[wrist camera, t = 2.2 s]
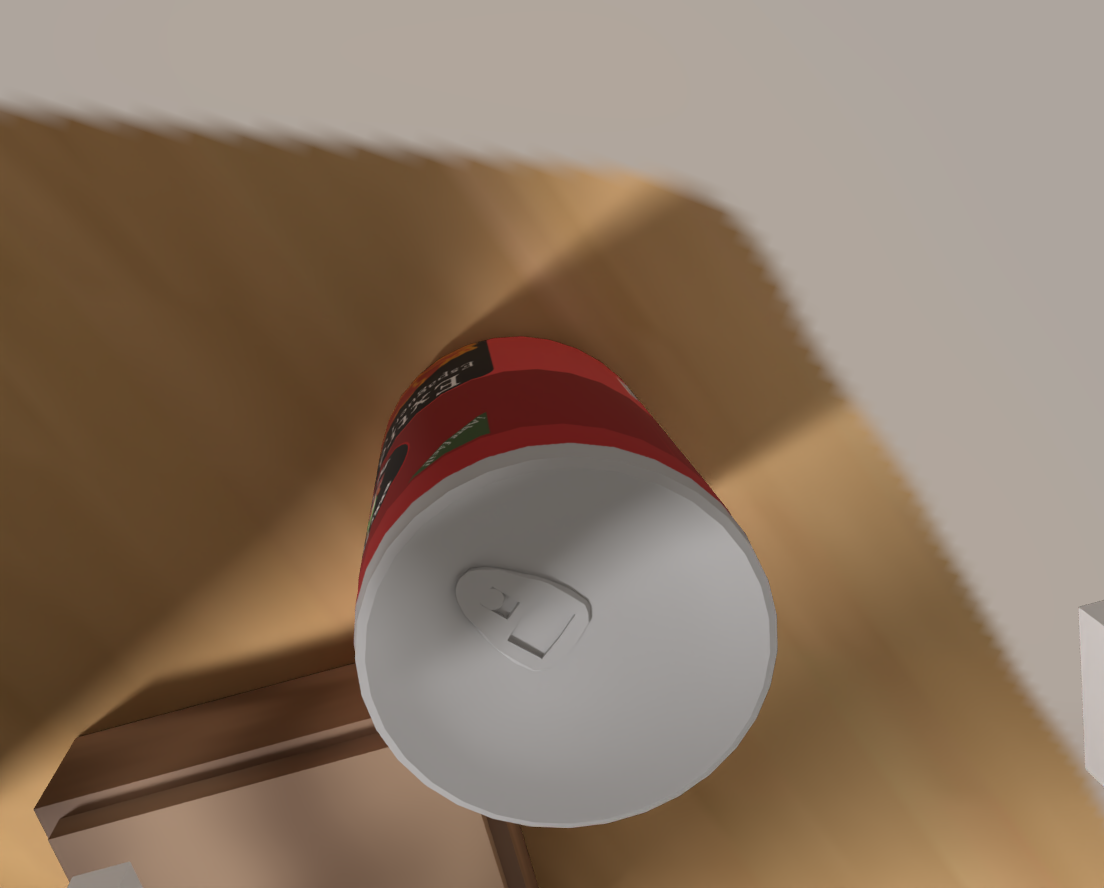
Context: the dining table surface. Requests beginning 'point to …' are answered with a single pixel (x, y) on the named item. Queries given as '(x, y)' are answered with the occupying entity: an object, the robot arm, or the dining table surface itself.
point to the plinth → (269, 801)
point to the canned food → (553, 594)
